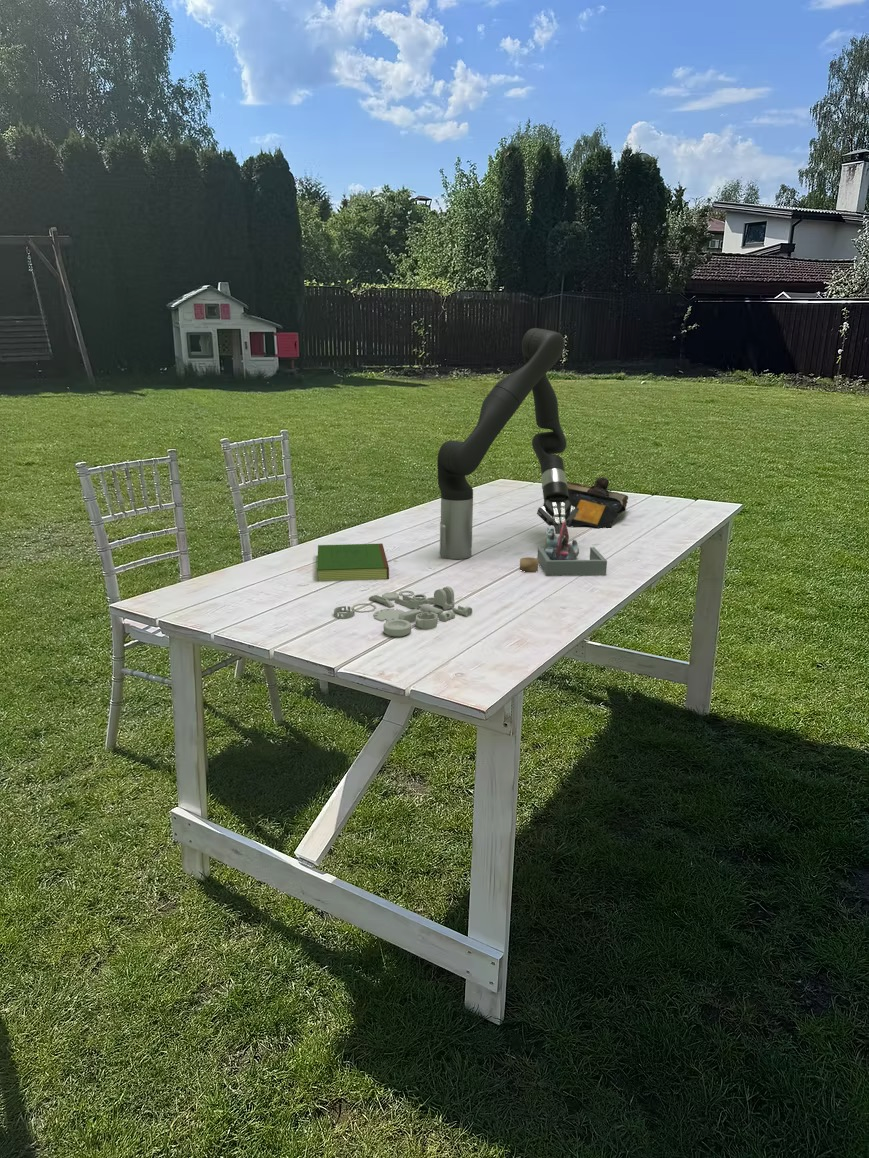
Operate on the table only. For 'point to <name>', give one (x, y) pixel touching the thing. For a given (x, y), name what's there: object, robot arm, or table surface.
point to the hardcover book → (352, 562)
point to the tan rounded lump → (529, 564)
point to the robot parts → (401, 620)
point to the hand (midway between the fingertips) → (561, 536)
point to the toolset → (595, 504)
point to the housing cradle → (573, 565)
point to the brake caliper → (560, 545)
